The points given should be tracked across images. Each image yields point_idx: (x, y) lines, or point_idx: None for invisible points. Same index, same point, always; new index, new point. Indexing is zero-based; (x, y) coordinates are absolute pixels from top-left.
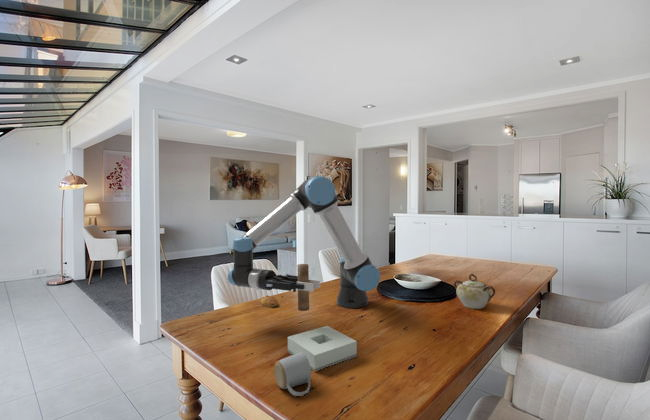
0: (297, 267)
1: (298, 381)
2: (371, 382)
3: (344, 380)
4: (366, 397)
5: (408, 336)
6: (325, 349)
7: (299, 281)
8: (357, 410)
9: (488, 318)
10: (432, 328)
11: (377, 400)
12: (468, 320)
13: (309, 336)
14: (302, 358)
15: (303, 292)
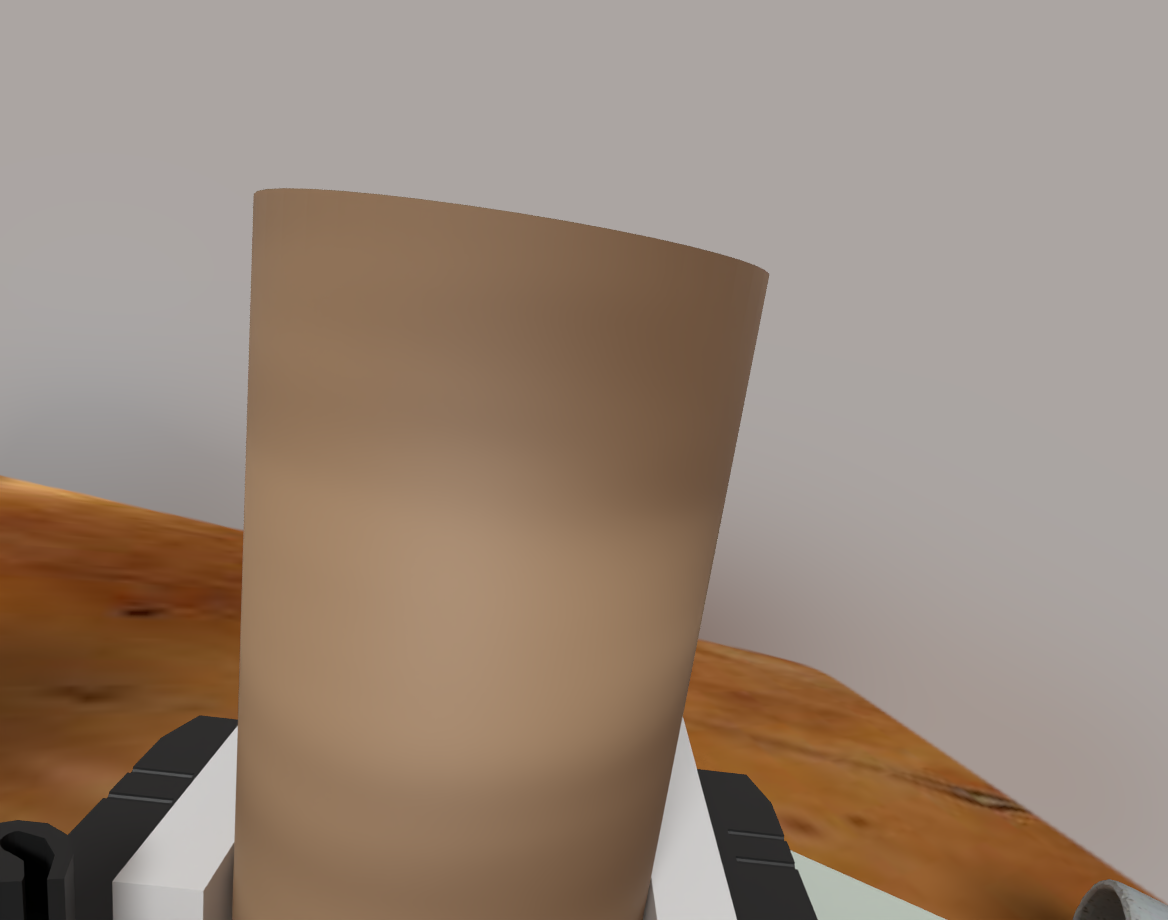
0: (713, 372)
1: None
2: (765, 759)
3: (845, 848)
4: (864, 759)
5: (233, 681)
6: (841, 894)
7: (654, 859)
8: (949, 769)
9: (29, 506)
10: (119, 615)
11: (846, 732)
12: (34, 537)
13: None
14: (1154, 900)
15: None
